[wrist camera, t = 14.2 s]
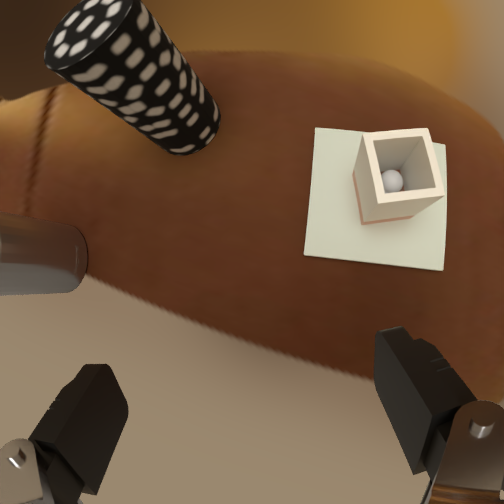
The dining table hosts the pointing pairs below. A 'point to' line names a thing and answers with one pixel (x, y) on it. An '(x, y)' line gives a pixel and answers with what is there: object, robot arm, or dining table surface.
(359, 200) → the sleeve
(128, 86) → the spotted tube
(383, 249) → the pin board
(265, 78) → the dining table surface
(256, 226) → the dining table surface
